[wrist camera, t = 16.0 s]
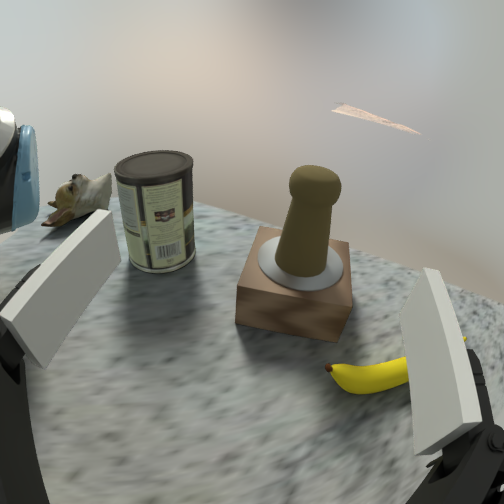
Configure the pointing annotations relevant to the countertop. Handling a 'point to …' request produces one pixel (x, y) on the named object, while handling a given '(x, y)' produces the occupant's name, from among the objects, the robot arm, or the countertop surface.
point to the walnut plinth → (294, 292)
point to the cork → (308, 221)
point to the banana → (370, 376)
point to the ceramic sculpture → (79, 198)
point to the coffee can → (157, 209)
